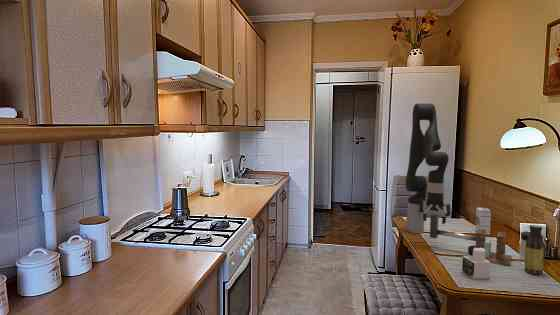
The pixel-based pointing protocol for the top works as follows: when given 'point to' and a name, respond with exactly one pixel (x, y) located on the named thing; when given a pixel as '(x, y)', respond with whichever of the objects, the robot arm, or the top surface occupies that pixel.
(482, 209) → the syrup box
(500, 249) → the bearing stand
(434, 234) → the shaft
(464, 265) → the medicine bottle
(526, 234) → the jar
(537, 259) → the sauce bottle
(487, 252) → the spacer
